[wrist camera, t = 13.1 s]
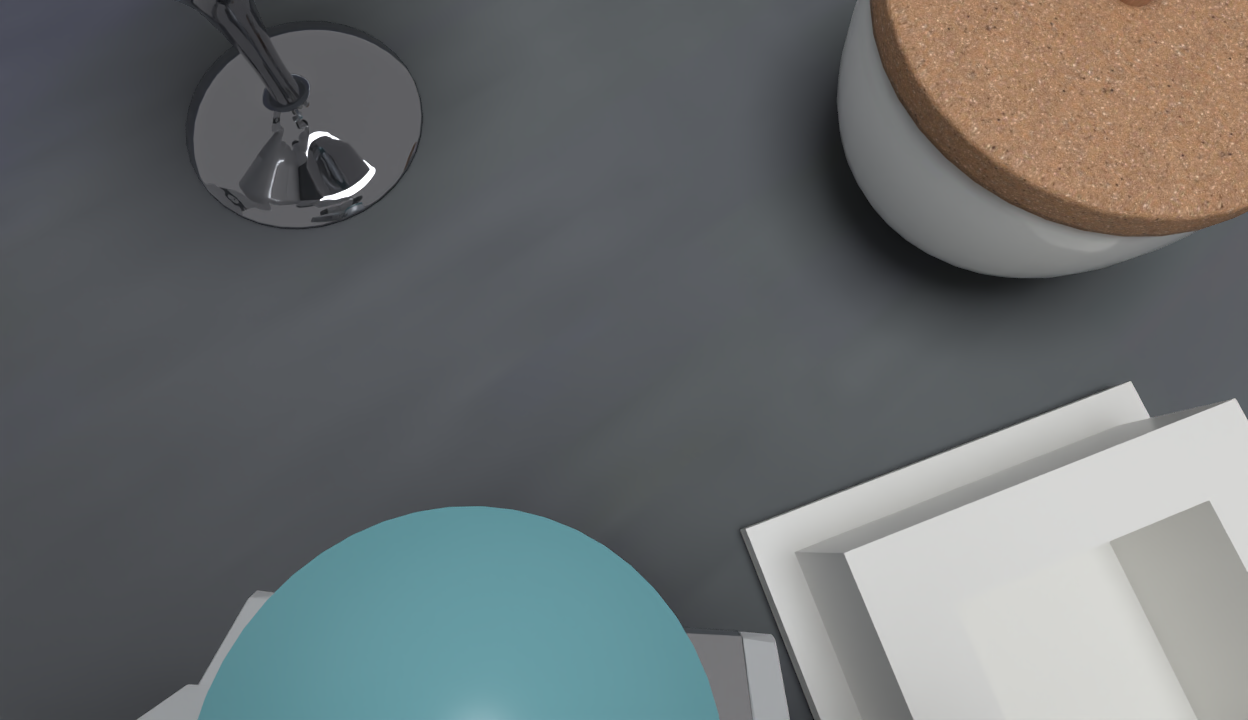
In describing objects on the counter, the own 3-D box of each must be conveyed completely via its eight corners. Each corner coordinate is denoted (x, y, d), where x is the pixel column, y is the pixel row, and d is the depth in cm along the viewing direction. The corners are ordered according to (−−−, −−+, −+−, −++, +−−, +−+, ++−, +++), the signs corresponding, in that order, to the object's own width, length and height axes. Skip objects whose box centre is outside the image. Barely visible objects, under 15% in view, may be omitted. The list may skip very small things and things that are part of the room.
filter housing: (925, 1004, 18) (1039, 1158, 14) (739, 529, 21) (783, 524, 16) (1331, 808, 20) (1558, 887, 15) (1111, 386, 22) (1249, 344, 18)
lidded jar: (731, 217, 23) (823, 4, 14) (880, -32, 26) (1039, -350, 17) (1050, 393, 22) (1366, 285, 13) (1172, 117, 25) (1510, -134, 16)
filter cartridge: (475, 773, 18) (255, 1216, 6) (415, 572, 19) (127, 613, 7) (667, 694, 18) (810, 957, 7) (599, 503, 19) (618, 436, 8)
